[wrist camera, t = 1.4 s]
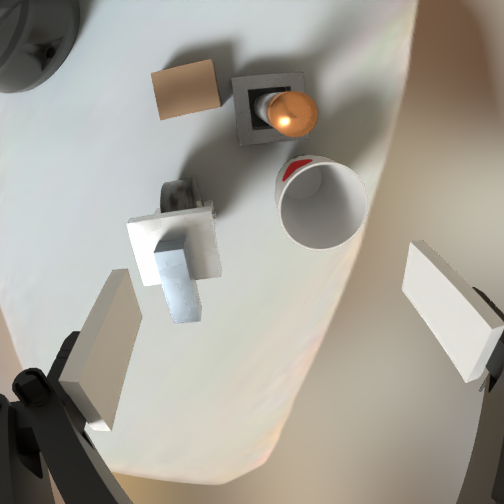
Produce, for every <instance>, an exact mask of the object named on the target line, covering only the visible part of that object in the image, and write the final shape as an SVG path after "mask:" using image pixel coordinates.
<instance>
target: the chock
mask: <svg viewBox="0 0 504 504" xmlns="http://www.w3.org/2000/svg"><path fill="white" fill-rule="evenodd" d="M151 77H152V82H153V87H154V92H155V97H156V102H157V106H158V111H159V116H160V120H164V119H168V118H172V117H176V116H181V115H185V114H189V113H194V112H199V111H203V110H208V109H213V108H218V107H221V101H220V95H219V90H218V85H217V79H216V74H215V69H214V64H213V61H212V59H209V60H204V61H199V62H194V63H190V64H186V65H181V66H177V67H173V68H169V69H165V70H161V71H158V72H154V73H151Z"/></svg>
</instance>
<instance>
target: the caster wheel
mask: <svg viewBox="0 0 504 504" xmlns="http://www.w3.org/2000/svg"><path fill="white" fill-rule="evenodd" d="M215 219H216V211H215V209H214V208H213V202H212V201H205V203H204V207H203V206H202V200H201V195H200V191H199V187H198V184H197V181H196V179H195V178H190V179H184V180H178V181H172V182H166V183H164V184H163V186H162V190H161V197H160V208H158V209H157V210H156V211H155V213H154V215H148V216H142V217H136V218H130V220H129V221H128V222H127V228H128V231H129V235H130V239H131V242H132V246H133V249H134V253H135V256H136V260H137V263H138V266H139V270H140V273H141V276H142V279H143V283H144V286H146V285H155V284H162V287H163V290H164V294H165V297H166V300H167V304H168V307H169V310H170V313H171V317H172V320H173V323H174V324H177V323H188V322H198V321H200V320H201V310H202V306H201V302H200V298H199V294H198V290H197V285H196V281H195V280H199V279H207V278H215V277H221V275H222V269H221V263H220V258H219V252H218V246H217V240H216V234H215V224H216V220H215Z"/></svg>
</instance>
